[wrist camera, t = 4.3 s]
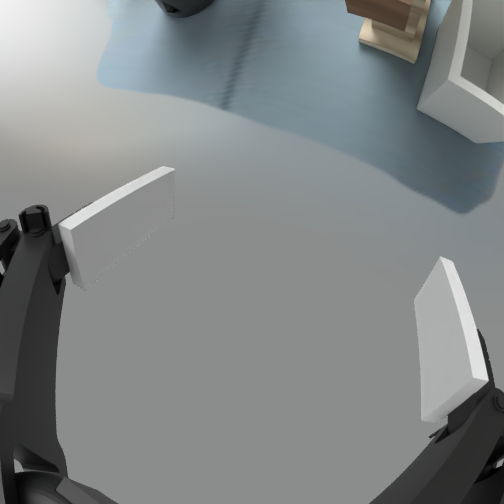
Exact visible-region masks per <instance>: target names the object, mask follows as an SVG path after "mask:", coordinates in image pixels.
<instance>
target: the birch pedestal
mask: <svg viewBox="0 0 504 504" xmlns="http://www.w3.org/2000/svg"><path fill="white" fill-rule="evenodd" d="M430 2H431V0H413V1H412V5H411V9H410V13H409V17H408V21H407V25H406V29H405V32H404V31H401V30H399V29H396V28H394V27H391V26H388V25H386V24H383V23H380V22H377V21H374V20H371V19H368V18H365V19H364V23H363V26H362V29H361V32H360V35H359V42H360V43H363V44H366V45H369V46H372V47H374V48H377V49H380V50H382V51H385V52H388V53H390V54H393V55H395V56H397V57H400V58H402V59H404V60H407V61H409V62H411V63H413V64H415V62H416V60H417V56H418V52H419V49H420V45H421V41H422V37H423V33H424V29H425V25H426V20H427V16H428V11H429V7H430Z"/></svg>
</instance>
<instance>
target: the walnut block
mask: <svg viewBox="0 0 504 504" xmlns="http://www.w3.org/2000/svg"><path fill="white" fill-rule="evenodd" d="M412 1H413V0H345V2H346V6H347V11H348V13H352V14H355V15H358V16H362V17H365V18H368V19H371V20H374V21H377V22H380V23H383V24H386V25H388V26H391V27H394V28H396V29H399V30H401V31H404V32H405V29H406V25H407V21H408V17H409V13H410V9H411V5H412Z"/></svg>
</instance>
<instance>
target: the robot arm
mask: <svg viewBox="0 0 504 504" xmlns="http://www.w3.org/2000/svg"><path fill="white" fill-rule="evenodd" d="M155 1H156V2H157V4H158V5H159V6H160V8H161V9H162V10H163V11H164V12H166V13H168V14H170V15H171V16H174V17H187V16H191V15H194V14H196V13H198V12H200V11H202V10H203V9H205V8H206V7H207V6H209V5H210V4H211V3H212V2H213V1H214V0H155ZM174 186H175V169H173V168H169V167H164V166H162V167H160V168H158V169H156V170H154V171H152V172H150V173H148V174H146V175H144V176H142V177H140V178H138V179H136V180H134V181H132V182H130V183H128V184H126V185H124V186H122V187H120V188H118V189H117V190H115V191H113V192H111V193H109V194H107V195H106V196H104V197H102V198H100V199H99V200H97V201H95V202H91V203H90V204H88V205H86V206H84V207H83V208H82V209H79V210H78V211H76V213H73V214H71V215H70V216H68V217H66V218H65V219H63V220H61V221H60V222H58V223H57V224H55V225H54V226H51V221H50V216H49V211H48V208H47V206H44V205H34V206H31V207H29V208H26V209H25V210H23V211H22V212H21V213H20V214H19V219H20V223H21V227H22V231H19V229H18V225H17V222H16V221H15V220H13V219H9V220H8V219H6V220H5V221H4V220H3V221H1V222H0V261H1V262H2V265H3V267H4V270H5V272H4V273H3V274H1V273H0V504H118V503H116V502H115V501H113V500H111V499H110V498H108V497H107V496H105V495H104V494H102V493H101V492H99V491H98V490H96V489H93V488H90V487H87V486H85V485H83V484H80V483H78V482H75V481H73V480H71V479H69V478H68V473H67V466H66V460H65V456H64V453H63V450H62V448H61V446H60V444H59V442H58V439H57V433H56V410H55V383H56V382H55V381H56V380H55V379H56V359H57V346H58V335H59V326H60V318H61V311H62V304H63V297H64V291H65V286H66V279H65V275H66V274H67V273H68V272H70V274H71V278H72V281H73V283H74V284H75V285H77V286H78V287H80V288H82V289H83V290H86V289H87V288H89V287H90V286H91V285H92V284H93V283H94V282H95V281H96V280H98V279H99V278H100V277H101V276H102V275H103V274H104V273H106V272H107V271H108V270H109V269H110V268H111V267H112V266H114V265H115V264H116V263H117V262H118V261H120V260H121V259H122V258H123V257H124V256H126V255H127V254H128V253H129V252H130V251H132V250H133V249H134V248H135V247H137V246H138V245H139V244H140V243H142V242H143V241H144V240H145V239H146V238H148V237H149V236H150V235H152V234H153V233H154V232H155V231H157V230H158V229H159V228H160V227H161V226H163V225H164V224H165V223H167V222H168V221H169V220H171V219H172V218H173V213H174V211H173V210H174ZM414 306H415V314H416V322H417V331H418V342H419V354H420V371H421V421H427V422H433V423H438V422H439V421H440V420H442V419H443V418H444V417H446V416H447V415H448V424H446V425H445V426H444V427H442V428H441V429H439V430H438V431H436V432H435V433H433V434H432V435H430V436H429V438H432V437H433V436H435V437H434V439H433V440H432V441H431V442H430V443H429V444H428V446H427V447H426V448H425V449H424V450H423V451H422V453H421V454H420V455H419V456H418V457H417V458H416V459H415V460H414V461H413V462H412V464H411V465H410V466H409V467H408V468H407V469H406V470H405V471H404V472H403V473H402V474H401V475H400V476H399V477H398V478H397V479H396V480H395V481H394V482H393V483H392V484H391V485H390V486H388V487H387V488H386V489H385V490H384V491H383V492H382V493H381V494H380V495H379V496H377V497H376V498H375V499H374V500H373V501H372V502H371V503H369V504H504V462H503V464H502V466H500V467H498V468H496V466H497V462H498V461H500V460H502V459H504V393H503V392H502V391H501V390H500V389H497V388H495V383H494V378H493V373H492V368H491V364H490V361H489V356H488V352H487V348H486V344H485V340H484V338H483V336H482V335H481V333H480V331H479V329H476V326H475V323H474V319H473V316H472V313H471V310H470V307H469V304H468V301H467V298H466V295H465V292H464V289H463V287H462V284H461V281H460V279H459V276H458V274H457V271H456V269H455V266H454V264H453V261H450V260H448V259H446V258H443V257H441V256H440V257H439V259H438V261H437V263H436V265H435V266H434V268H433V270H432V272H431V273H430V275H429V277H428V278H427V280H426V282H425V284H424V285H423V287H422V288H421V290H420V291H419V293H418V295H417V296H416V298H415V299H414ZM14 459H16V460H17V461H19V462H20V463H21V465H22V467H23V470H24V472H19V473H15V470H14Z"/></svg>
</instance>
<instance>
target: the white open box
mask: <svg viewBox="0 0 504 504" xmlns="http://www.w3.org/2000/svg"><path fill="white" fill-rule="evenodd" d="M416 110H418V111H420V112H422V113H424V114H426V115H428V116H430V117H432V118H434V119H436V120H437V121H439V122H441V123H443V124H445V125H446V126H448V127H450V128H451V129H453V130H455V131H456V132H458V133H460V134H461V135H463V136H465V137H466V138H468V139H469V140H471V141H472V142H474V143H476V144H477V143H490V142H504V0H452V2H451V4H450V6H449V8H448V10H447V12H446V14H445V16H444V18H443V20H442V22H441V24H440V26H439V27H438V31H437V36H436V40H435V44H434V48H433V53H432V56H431V60H430V64H429V68H428V71H427V75H426V78H425V82H424V85H423V89H422V92H421V95H420V98H419V102H418V105H417V108H416Z"/></svg>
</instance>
